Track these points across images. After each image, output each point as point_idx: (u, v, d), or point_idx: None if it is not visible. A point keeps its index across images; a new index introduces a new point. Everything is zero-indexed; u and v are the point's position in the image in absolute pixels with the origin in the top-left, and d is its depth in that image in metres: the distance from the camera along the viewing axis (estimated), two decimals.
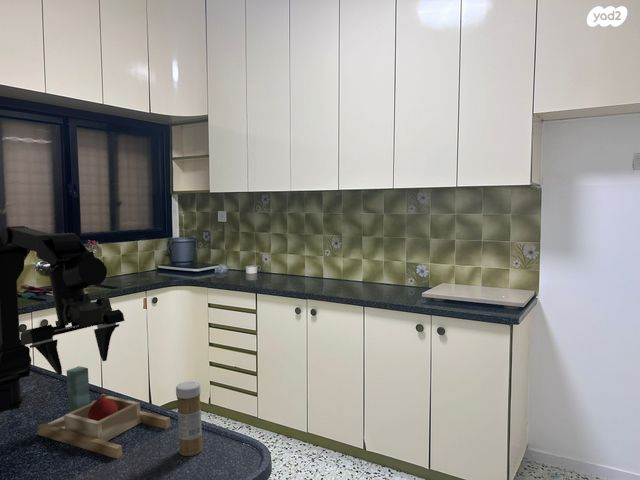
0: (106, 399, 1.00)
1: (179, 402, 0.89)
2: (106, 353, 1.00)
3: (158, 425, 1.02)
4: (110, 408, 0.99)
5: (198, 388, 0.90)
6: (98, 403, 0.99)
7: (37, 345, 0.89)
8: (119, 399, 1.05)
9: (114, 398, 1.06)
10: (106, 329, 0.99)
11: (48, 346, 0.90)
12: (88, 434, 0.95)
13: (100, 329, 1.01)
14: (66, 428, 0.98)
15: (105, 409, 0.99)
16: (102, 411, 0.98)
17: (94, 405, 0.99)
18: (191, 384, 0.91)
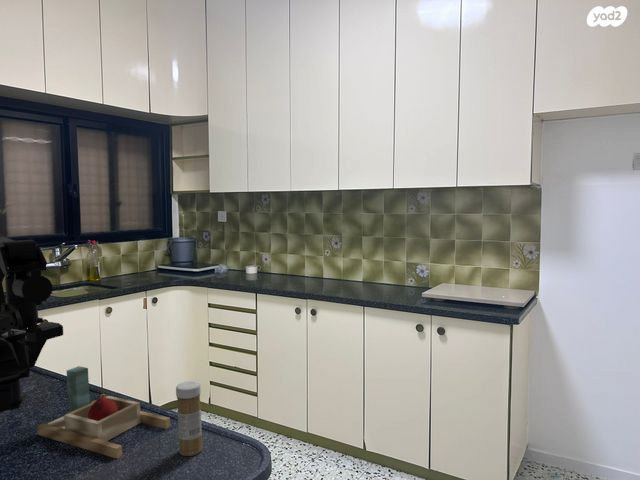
0: (106, 399, 1.00)
1: (179, 402, 0.89)
2: (28, 362, 1.03)
3: (158, 425, 1.02)
4: (110, 408, 0.99)
5: (198, 388, 0.90)
6: (98, 403, 0.99)
7: None
8: (119, 399, 1.05)
9: (114, 398, 1.06)
10: None
11: (3, 340, 1.04)
12: (88, 434, 0.95)
13: None
14: (66, 428, 0.98)
15: (105, 409, 0.99)
16: (102, 411, 0.98)
17: (94, 405, 0.99)
18: (191, 384, 0.91)
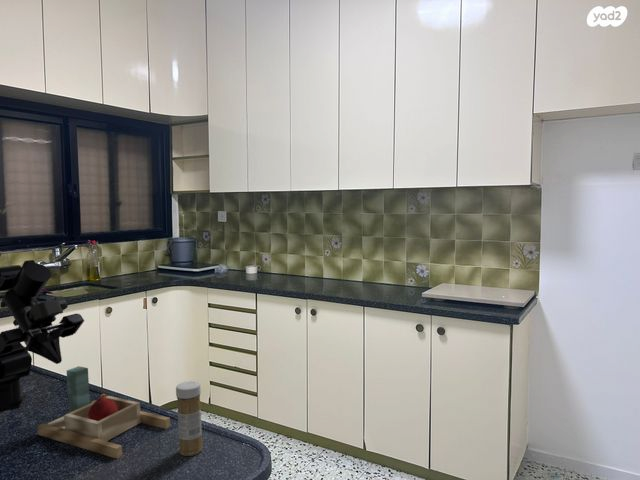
0: (106, 399, 1.00)
1: (179, 402, 0.89)
2: (59, 354, 1.06)
3: (158, 425, 1.02)
4: (110, 408, 0.99)
5: (198, 388, 0.90)
6: (98, 403, 0.99)
7: (30, 340, 1.04)
8: (119, 399, 1.05)
9: (114, 398, 1.06)
10: (52, 333, 1.07)
11: (40, 338, 1.04)
12: (88, 434, 0.95)
13: (47, 338, 1.08)
14: (66, 428, 0.98)
15: (105, 409, 0.99)
16: (102, 411, 0.98)
17: (94, 405, 0.99)
18: (191, 384, 0.91)
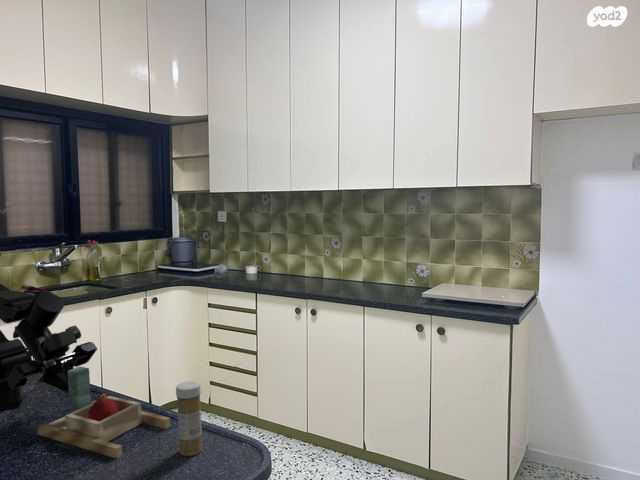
0: (106, 399, 1.00)
1: (179, 402, 0.89)
2: None
3: (158, 425, 1.02)
4: (110, 408, 0.99)
5: (198, 388, 0.90)
6: (98, 403, 0.99)
7: (45, 372, 1.02)
8: (120, 399, 1.05)
9: (115, 398, 1.06)
10: (66, 363, 1.06)
11: (55, 369, 1.03)
12: (89, 434, 0.95)
13: (61, 369, 1.07)
14: (67, 428, 0.98)
15: (105, 409, 0.99)
16: (102, 411, 0.98)
17: (94, 405, 0.99)
18: (191, 384, 0.91)
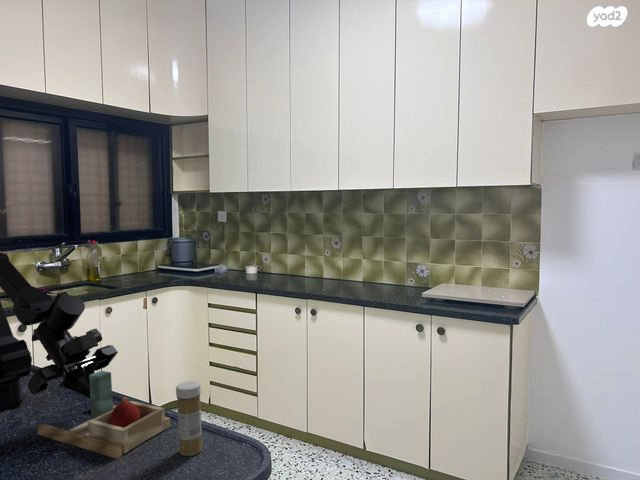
0: (128, 403, 0.98)
1: (179, 402, 0.89)
2: None
3: None
4: (133, 412, 0.97)
5: (198, 388, 0.90)
6: (121, 407, 0.97)
7: (66, 376, 0.99)
8: (143, 404, 1.02)
9: (137, 403, 1.03)
10: (87, 367, 1.03)
11: (76, 373, 1.00)
12: (113, 441, 0.92)
13: None
14: (90, 435, 0.95)
15: (129, 412, 0.97)
16: (126, 415, 0.96)
17: (117, 409, 0.97)
18: (191, 384, 0.91)
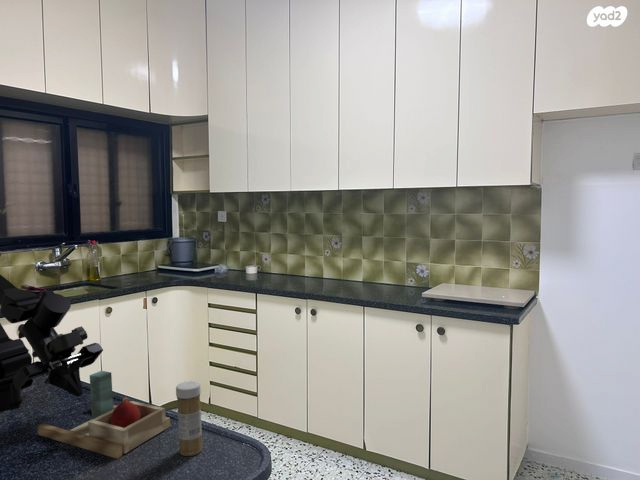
0: (129, 403, 0.98)
1: (179, 402, 0.89)
2: (80, 386, 1.04)
3: None
4: (134, 412, 0.97)
5: (198, 388, 0.90)
6: (122, 407, 0.97)
7: (51, 373, 1.02)
8: (143, 405, 1.02)
9: (138, 403, 1.03)
10: (72, 364, 1.05)
11: (61, 370, 1.02)
12: (114, 441, 0.92)
13: None
14: (90, 435, 0.95)
15: (130, 413, 0.97)
16: (127, 415, 0.96)
17: (117, 410, 0.97)
18: (191, 384, 0.91)
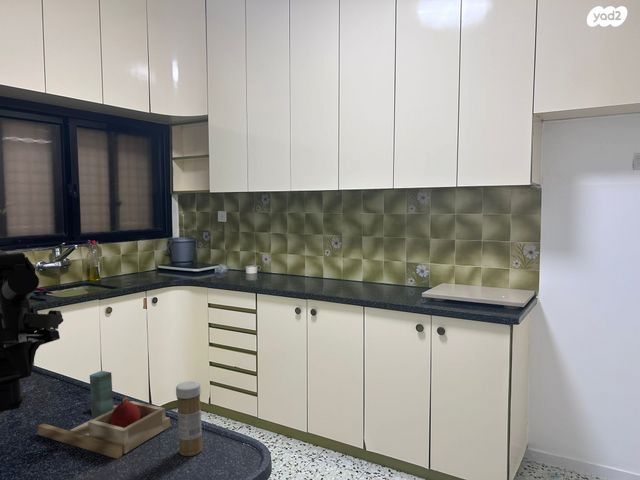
0: (129, 403, 0.98)
1: (179, 402, 0.89)
2: (31, 368, 1.02)
3: None
4: (134, 412, 0.97)
5: (198, 388, 0.90)
6: (122, 407, 0.97)
7: (15, 345, 0.99)
8: (143, 405, 1.02)
9: (138, 403, 1.03)
10: (34, 344, 1.03)
11: (25, 346, 1.00)
12: (114, 441, 0.92)
13: None
14: (90, 435, 0.95)
15: (130, 413, 0.97)
16: (127, 415, 0.96)
17: (117, 410, 0.97)
18: (191, 384, 0.91)
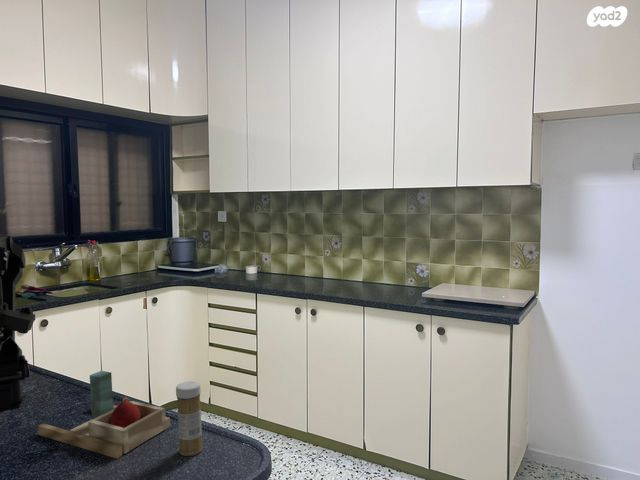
0: (129, 403, 0.98)
1: (179, 402, 0.89)
2: None
3: None
4: (134, 412, 0.97)
5: (198, 388, 0.90)
6: (122, 407, 0.97)
7: None
8: (143, 405, 1.02)
9: (138, 403, 1.03)
10: (3, 341, 1.02)
11: None
12: (114, 441, 0.92)
13: None
14: (90, 435, 0.95)
15: (130, 413, 0.97)
16: (127, 415, 0.96)
17: (117, 410, 0.97)
18: (191, 384, 0.91)
